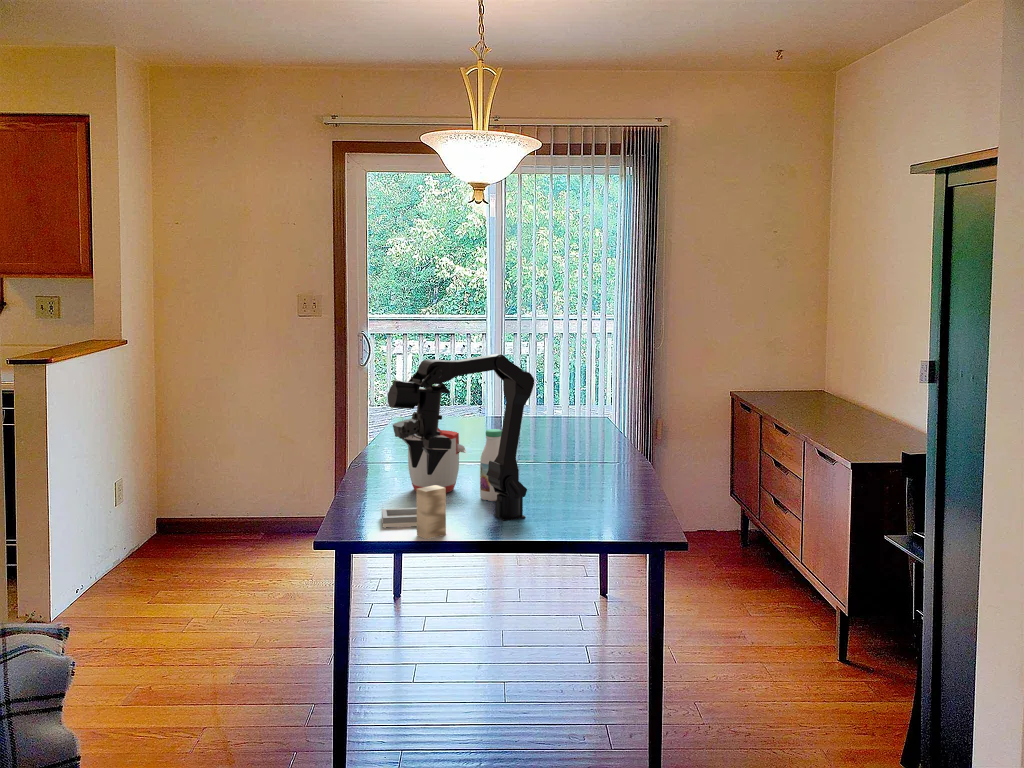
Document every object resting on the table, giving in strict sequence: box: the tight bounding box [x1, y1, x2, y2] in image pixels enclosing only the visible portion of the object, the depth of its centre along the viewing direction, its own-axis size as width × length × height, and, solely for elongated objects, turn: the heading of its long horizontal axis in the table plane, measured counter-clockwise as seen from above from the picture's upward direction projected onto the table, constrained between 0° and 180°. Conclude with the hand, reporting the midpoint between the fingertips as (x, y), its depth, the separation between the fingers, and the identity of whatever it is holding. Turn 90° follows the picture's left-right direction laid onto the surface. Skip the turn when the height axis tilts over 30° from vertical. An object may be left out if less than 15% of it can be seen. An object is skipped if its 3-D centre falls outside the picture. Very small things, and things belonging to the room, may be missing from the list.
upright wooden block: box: [415, 485, 447, 540], centre depth 236 cm, size 6×4×12 cm, turn 131°
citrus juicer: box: [407, 427, 467, 494], centre depth 281 cm, size 16×17×20 cm
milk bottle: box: [479, 428, 502, 502], centre depth 272 cm, size 8×8×20 cm
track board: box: [381, 507, 417, 529], centre depth 249 cm, size 16×10×2 cm, turn 100°
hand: (421, 471), depth 239 cm, fingers open, 9 cm apart
